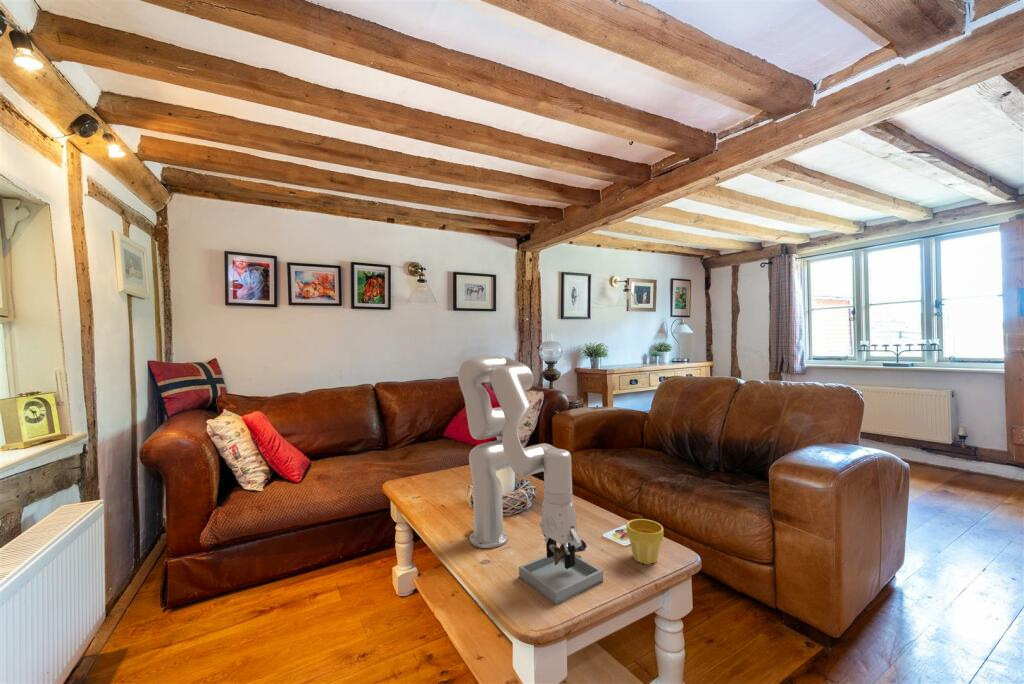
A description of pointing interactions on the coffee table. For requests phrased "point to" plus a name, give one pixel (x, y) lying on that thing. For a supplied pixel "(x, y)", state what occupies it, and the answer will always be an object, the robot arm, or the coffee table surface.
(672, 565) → the coffee table surface
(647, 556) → the plant pot
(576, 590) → the bin
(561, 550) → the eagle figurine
